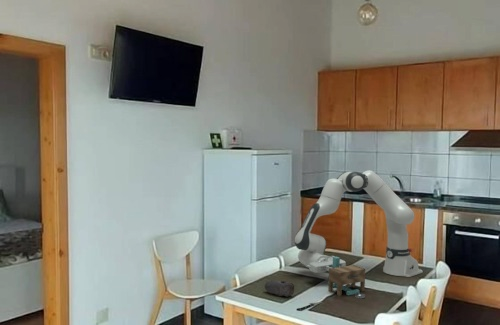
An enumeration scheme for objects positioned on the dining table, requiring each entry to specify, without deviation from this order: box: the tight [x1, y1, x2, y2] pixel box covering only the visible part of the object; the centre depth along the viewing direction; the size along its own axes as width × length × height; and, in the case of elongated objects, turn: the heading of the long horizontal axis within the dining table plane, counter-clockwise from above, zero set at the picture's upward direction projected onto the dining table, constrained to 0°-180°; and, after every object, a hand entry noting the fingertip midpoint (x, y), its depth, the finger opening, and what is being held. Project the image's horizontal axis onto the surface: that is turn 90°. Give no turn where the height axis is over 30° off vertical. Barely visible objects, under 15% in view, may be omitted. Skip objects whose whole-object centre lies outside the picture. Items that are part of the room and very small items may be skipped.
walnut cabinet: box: [327, 264, 366, 297], centre depth 224 cm, size 16×9×11 cm, turn 119°
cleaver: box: [296, 301, 323, 312], centre depth 210 cm, size 29×1×10 cm
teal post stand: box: [327, 256, 360, 296], centre depth 226 cm, size 16×7×14 cm, turn 29°
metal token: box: [354, 292, 366, 300], centre depth 216 cm, size 4×4×2 cm
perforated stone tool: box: [264, 279, 295, 298], centre depth 217 cm, size 15×5×7 cm, turn 57°
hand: (337, 269), depth 230 cm, fingers closed on teal post stand, 2 cm apart
